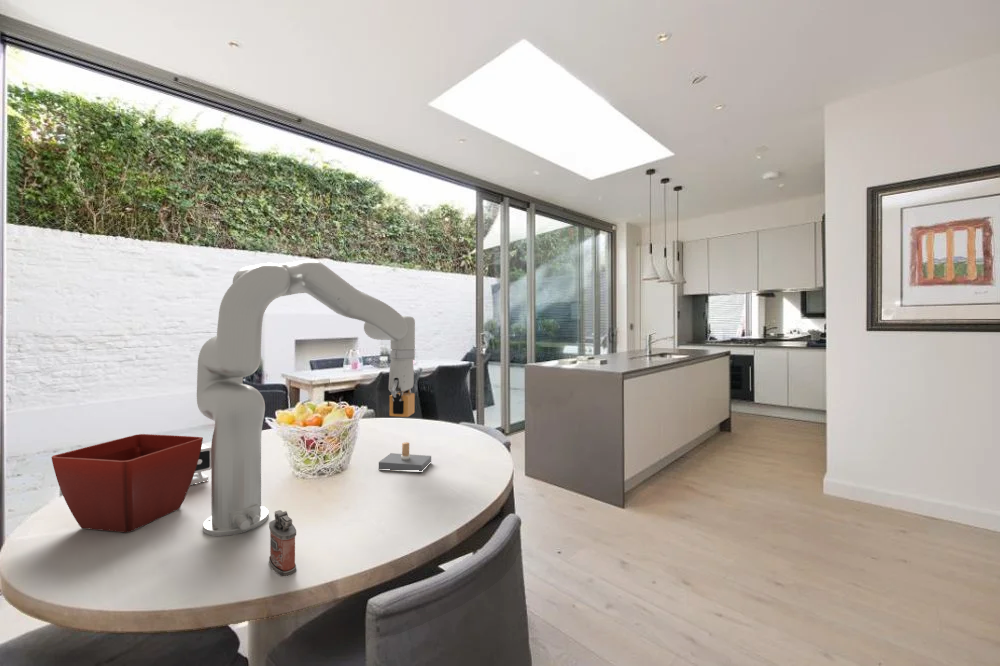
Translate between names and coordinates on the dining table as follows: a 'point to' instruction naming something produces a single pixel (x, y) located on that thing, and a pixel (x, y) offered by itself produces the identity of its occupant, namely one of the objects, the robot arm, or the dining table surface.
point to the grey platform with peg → (404, 460)
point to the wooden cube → (408, 405)
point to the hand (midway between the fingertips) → (402, 410)
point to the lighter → (282, 544)
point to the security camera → (202, 465)
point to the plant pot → (127, 480)
